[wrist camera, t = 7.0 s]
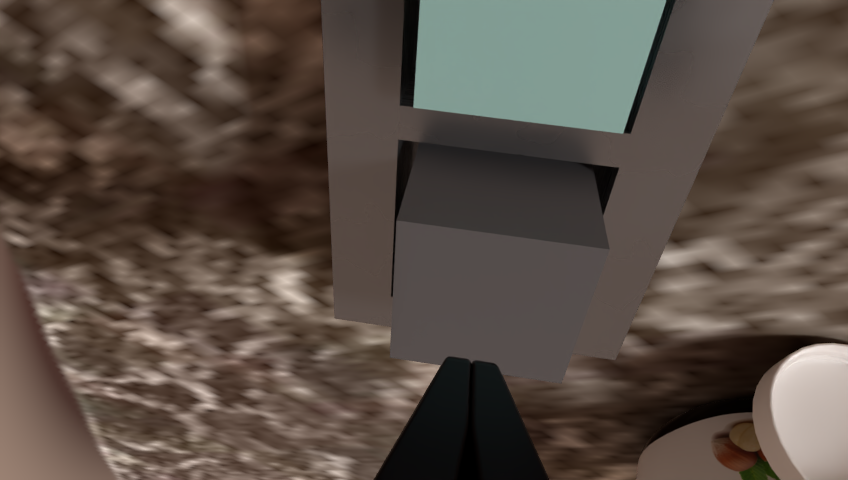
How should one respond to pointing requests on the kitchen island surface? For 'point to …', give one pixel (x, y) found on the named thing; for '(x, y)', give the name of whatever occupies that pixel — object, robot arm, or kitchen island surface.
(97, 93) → the kitchen island surface
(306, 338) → the kitchen island surface
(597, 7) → the key teal
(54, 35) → the kitchen island surface
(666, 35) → the key panel
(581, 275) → the key black
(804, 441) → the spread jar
